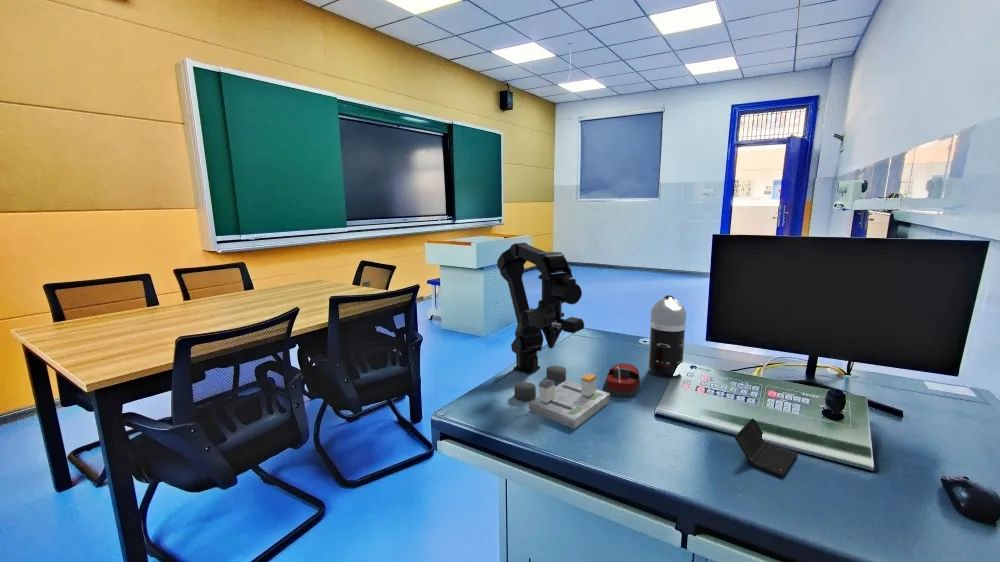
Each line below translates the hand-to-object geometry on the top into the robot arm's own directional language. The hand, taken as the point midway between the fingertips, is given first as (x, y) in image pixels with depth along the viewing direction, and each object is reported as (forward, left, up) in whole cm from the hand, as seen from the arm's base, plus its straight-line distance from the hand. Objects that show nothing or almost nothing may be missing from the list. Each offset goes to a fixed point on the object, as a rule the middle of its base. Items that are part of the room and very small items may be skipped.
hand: (551, 348), depth 125 cm
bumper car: (+17, +12, -12) cm, 24 cm away
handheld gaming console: (+56, -1, -12) cm, 57 cm away
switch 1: (+8, -13, -9) cm, 17 cm away
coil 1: (-1, -11, -12) cm, 16 cm away
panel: (+12, -8, -12) cm, 18 cm away
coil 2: (-1, +5, -12) cm, 13 cm away
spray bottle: (+23, +30, -12) cm, 40 cm away
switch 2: (+14, -3, -9) cm, 17 cm away
